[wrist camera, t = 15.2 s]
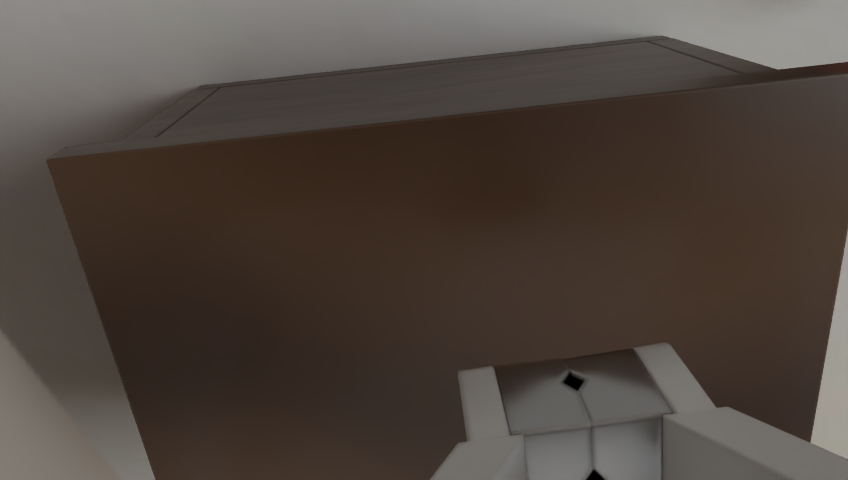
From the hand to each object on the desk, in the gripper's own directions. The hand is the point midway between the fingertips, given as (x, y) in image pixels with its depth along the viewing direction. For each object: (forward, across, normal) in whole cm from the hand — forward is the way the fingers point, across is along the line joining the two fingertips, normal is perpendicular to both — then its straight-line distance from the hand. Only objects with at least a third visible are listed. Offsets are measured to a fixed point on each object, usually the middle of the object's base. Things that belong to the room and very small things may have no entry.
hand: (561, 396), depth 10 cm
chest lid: (+5, +1, +3) cm, 5 cm away
